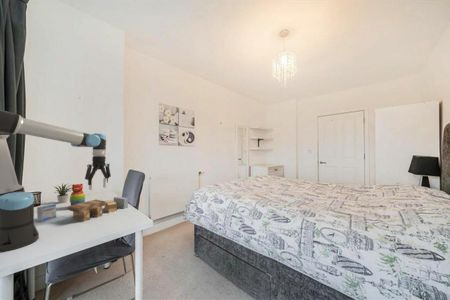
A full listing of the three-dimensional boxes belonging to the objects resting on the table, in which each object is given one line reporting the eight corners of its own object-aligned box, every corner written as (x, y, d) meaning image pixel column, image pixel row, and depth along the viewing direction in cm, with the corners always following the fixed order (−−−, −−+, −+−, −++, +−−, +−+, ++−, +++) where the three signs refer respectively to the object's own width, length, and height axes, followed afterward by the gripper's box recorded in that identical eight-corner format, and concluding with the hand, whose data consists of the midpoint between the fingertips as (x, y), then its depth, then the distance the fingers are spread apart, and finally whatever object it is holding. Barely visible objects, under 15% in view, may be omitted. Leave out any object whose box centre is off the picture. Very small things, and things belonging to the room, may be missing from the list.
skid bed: (84, 221, 116) (84, 211, 116) (73, 218, 121) (73, 209, 121) (102, 215, 126) (102, 206, 126) (91, 213, 131) (91, 204, 131)
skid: (116, 211, 135) (116, 203, 135) (108, 213, 132) (108, 204, 131) (112, 207, 144) (112, 200, 144) (104, 209, 140) (104, 201, 140)
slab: (78, 212, 114) (78, 207, 114) (69, 210, 118) (69, 205, 118) (104, 205, 129) (104, 201, 129) (95, 203, 133) (95, 199, 133)
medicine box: (42, 221, 116) (42, 207, 115) (37, 221, 116) (36, 207, 116) (56, 217, 123) (56, 203, 123) (51, 216, 124) (51, 203, 124)
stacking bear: (66, 210, 137) (66, 185, 137) (71, 206, 146) (70, 183, 146) (84, 208, 141) (84, 184, 141) (87, 204, 150) (87, 182, 150)
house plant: (58, 206, 146) (58, 185, 146) (45, 204, 149) (45, 184, 149) (77, 201, 160) (77, 182, 160) (64, 200, 163) (64, 181, 163)
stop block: (124, 208, 141) (124, 199, 141) (113, 206, 146) (113, 197, 146) (127, 207, 144) (127, 198, 144) (117, 205, 149) (117, 196, 149)
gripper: (85, 156, 118) (84, 192, 118) (117, 155, 138) (116, 186, 138) (78, 155, 121) (77, 190, 121) (110, 155, 141) (109, 185, 141)
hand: (98, 188), depth 129 cm, fingers open, 9 cm apart
